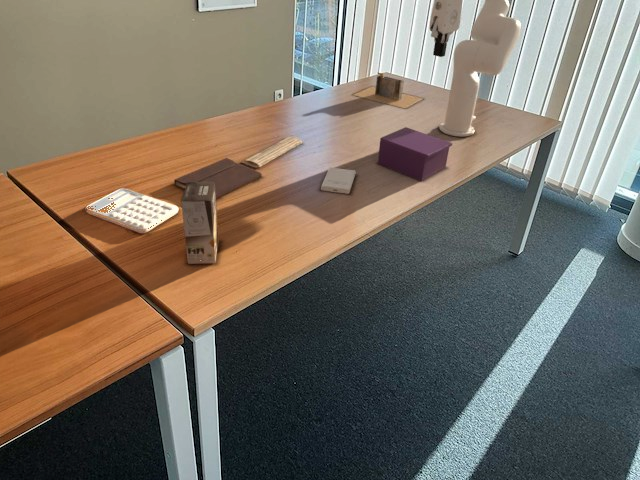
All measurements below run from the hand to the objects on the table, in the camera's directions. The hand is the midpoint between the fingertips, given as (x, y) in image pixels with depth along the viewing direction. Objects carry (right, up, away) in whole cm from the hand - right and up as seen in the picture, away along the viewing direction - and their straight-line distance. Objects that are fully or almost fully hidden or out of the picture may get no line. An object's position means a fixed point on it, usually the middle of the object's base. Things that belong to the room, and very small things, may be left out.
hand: (438, 55), depth 161 cm
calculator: (-84, -49, -25) cm, 101 cm away
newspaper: (-51, -28, +10) cm, 59 cm away
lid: (-7, -26, +2) cm, 27 cm away
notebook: (-65, -39, -8) cm, 77 cm away
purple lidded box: (-7, -32, +7) cm, 34 cm away
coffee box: (-63, -59, -38) cm, 94 cm away
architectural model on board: (-7, +5, +64) cm, 64 cm away
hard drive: (-31, -39, -5) cm, 50 cm away
